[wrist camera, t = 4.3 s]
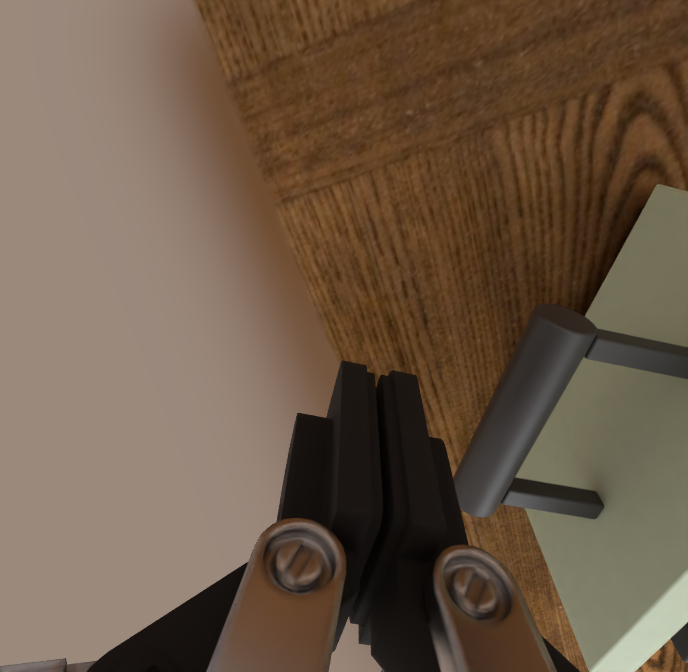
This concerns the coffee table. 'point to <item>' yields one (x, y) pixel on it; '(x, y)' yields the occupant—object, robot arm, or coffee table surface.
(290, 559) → the robot arm
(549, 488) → the green drawer
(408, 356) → the coffee table surface
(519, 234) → the coffee table surface
